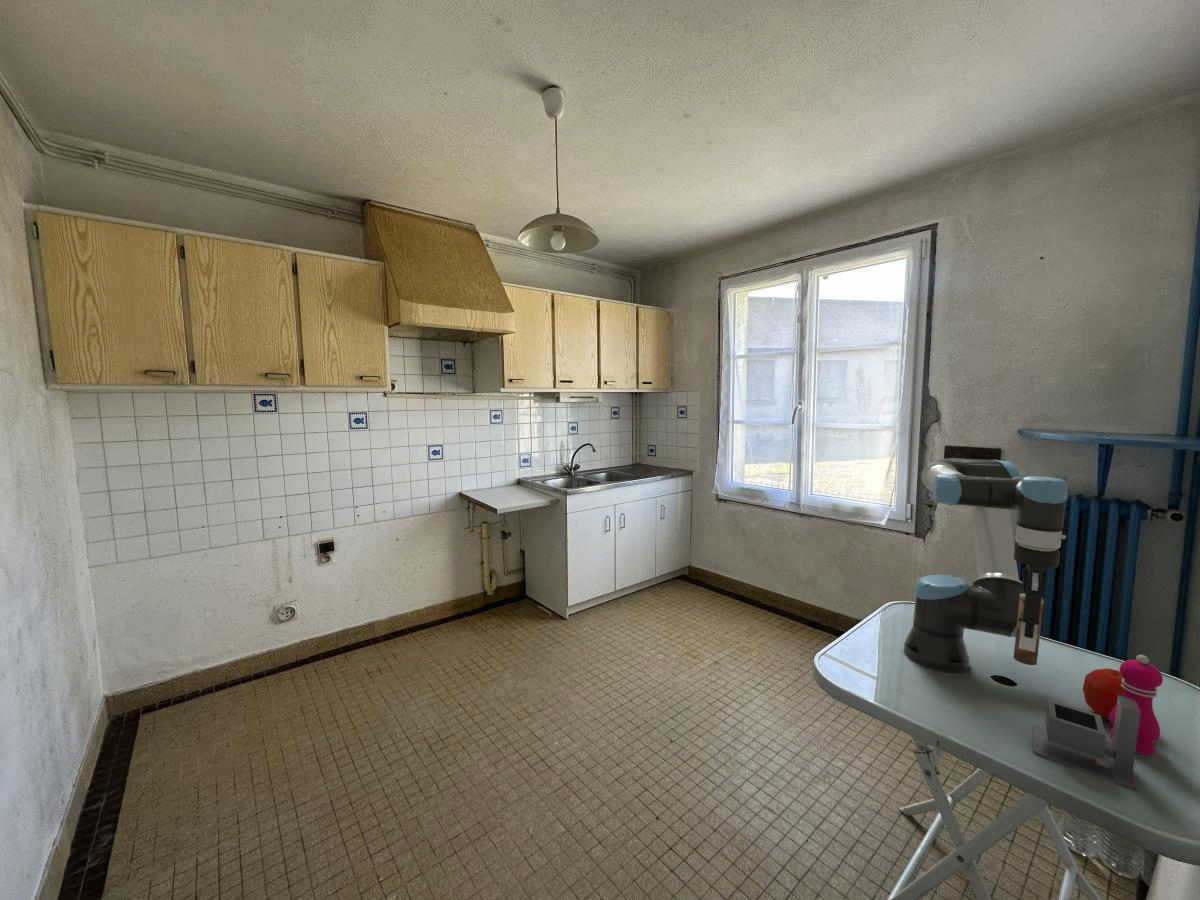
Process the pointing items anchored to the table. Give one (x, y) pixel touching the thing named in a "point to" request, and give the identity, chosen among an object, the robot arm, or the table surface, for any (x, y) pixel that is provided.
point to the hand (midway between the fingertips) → (1026, 645)
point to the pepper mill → (1141, 699)
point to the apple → (1103, 690)
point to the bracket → (1090, 740)
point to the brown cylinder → (1019, 654)
